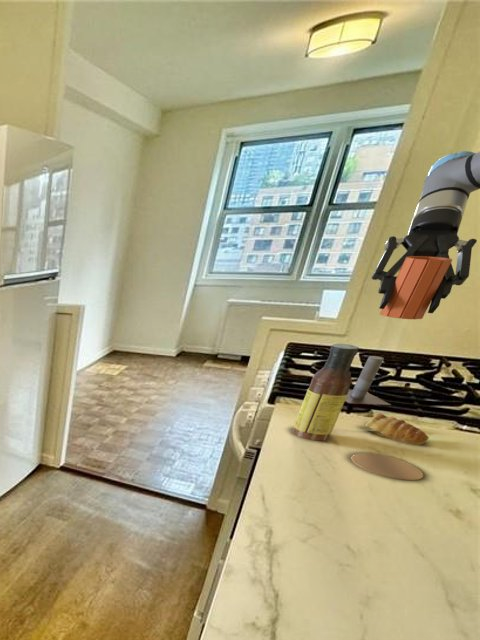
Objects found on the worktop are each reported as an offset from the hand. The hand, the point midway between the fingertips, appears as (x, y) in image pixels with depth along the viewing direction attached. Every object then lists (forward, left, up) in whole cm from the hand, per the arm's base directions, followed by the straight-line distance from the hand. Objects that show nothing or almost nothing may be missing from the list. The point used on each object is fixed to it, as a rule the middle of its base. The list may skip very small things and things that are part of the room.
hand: (408, 307), depth 103 cm
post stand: (-3, -5, -24) cm, 25 cm away
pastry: (+2, +13, -24) cm, 28 cm away
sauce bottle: (+19, +16, -24) cm, 35 cm away
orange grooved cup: (-2, -3, -2) cm, 4 cm away
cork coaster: (+13, +29, -24) cm, 40 cm away
